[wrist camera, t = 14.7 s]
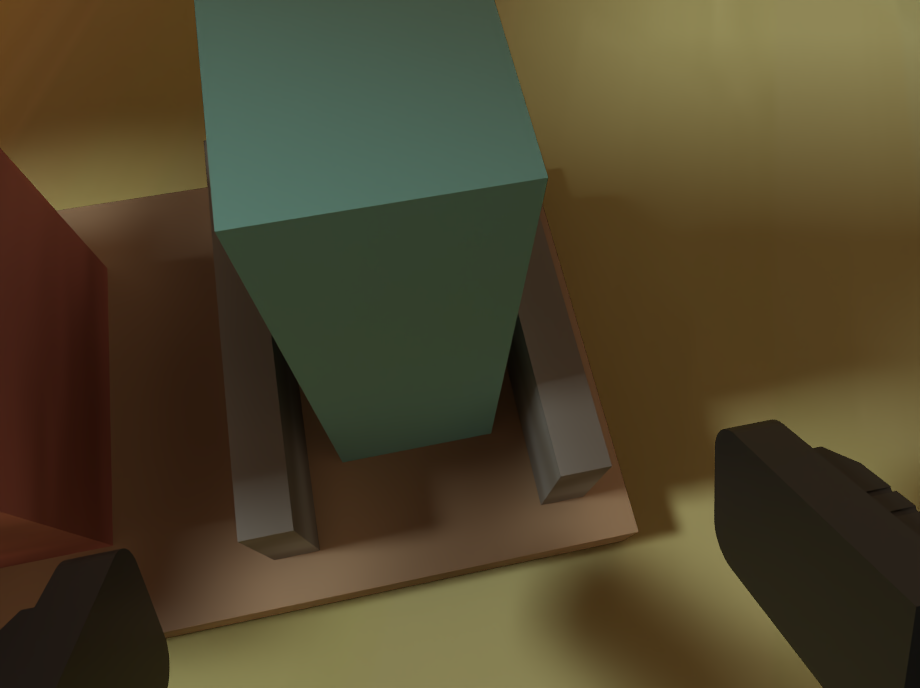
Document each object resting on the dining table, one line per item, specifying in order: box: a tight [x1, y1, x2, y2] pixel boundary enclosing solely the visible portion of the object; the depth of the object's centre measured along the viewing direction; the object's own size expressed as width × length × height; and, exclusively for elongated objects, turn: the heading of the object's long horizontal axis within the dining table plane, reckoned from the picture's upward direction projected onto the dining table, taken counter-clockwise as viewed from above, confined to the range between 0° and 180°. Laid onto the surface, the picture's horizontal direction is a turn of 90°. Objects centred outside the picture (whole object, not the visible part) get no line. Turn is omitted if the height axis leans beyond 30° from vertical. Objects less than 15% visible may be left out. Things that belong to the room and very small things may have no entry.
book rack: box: [0, 140, 639, 638], centre depth 13 cm, size 20×11×12 cm, turn 102°
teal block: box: [194, 0, 548, 462], centre depth 13 cm, size 4×5×10 cm
